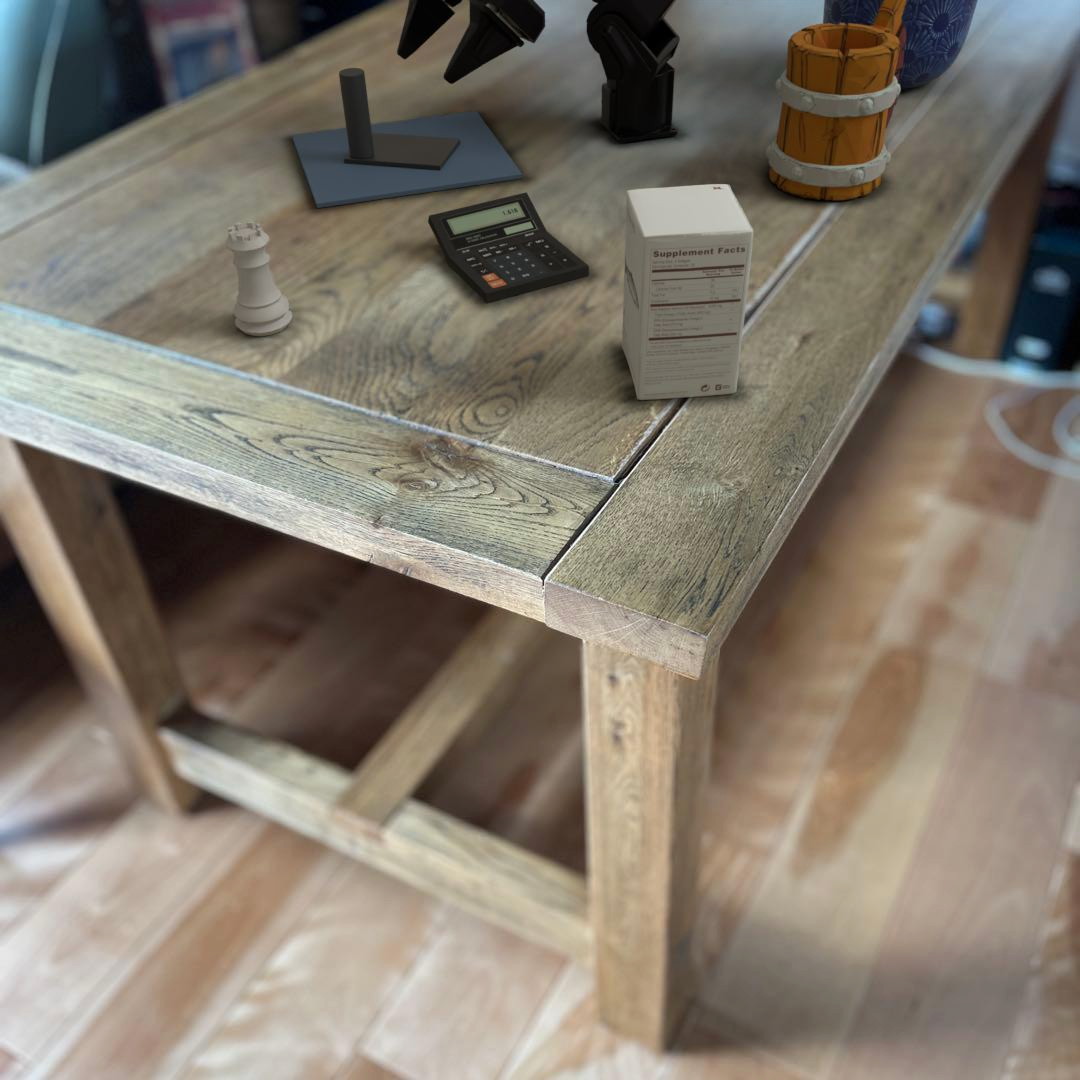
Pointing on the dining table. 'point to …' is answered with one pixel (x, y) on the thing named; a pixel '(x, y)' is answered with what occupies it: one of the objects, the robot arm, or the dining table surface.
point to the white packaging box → (685, 290)
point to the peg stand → (385, 146)
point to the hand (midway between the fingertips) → (423, 68)
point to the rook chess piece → (256, 283)
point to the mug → (838, 106)
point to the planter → (916, 32)
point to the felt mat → (358, 183)
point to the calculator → (504, 248)
